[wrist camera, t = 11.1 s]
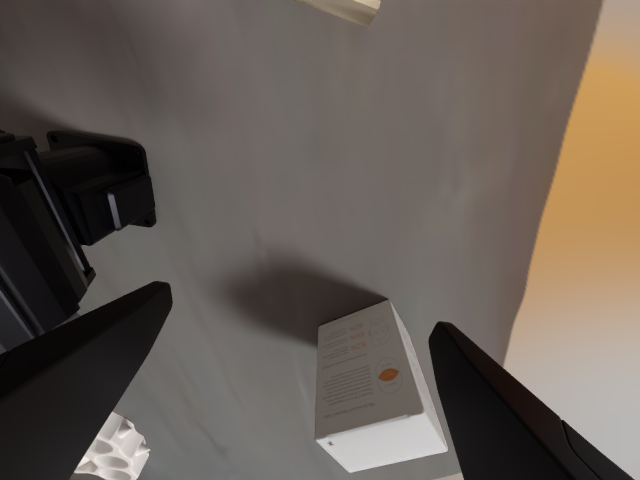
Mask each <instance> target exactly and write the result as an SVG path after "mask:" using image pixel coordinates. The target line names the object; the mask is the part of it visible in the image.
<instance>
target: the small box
mask: <svg viewBox="0 0 640 480" xmlns="http://www.w3.org/2000/svg"><path fill="white" fill-rule="evenodd" d="M315 440H316V441H317V442H318V443H319V444H320V445H321V446H322V447H323V448H324V449H325V450H326V451H327V452H328V453H329V454H330V455H331V456H332V457H333V458H334V459H335V460H336V461H338V462H339V463H340V464H341V465H342V466H343V467H344V468H345V469H346V470H347V471H348V472H350V473H351V472H355V471H360V470H364V469H368V468H373V467H378V466H383V465H387V464H392V463H396V462H401V461H406V460H410V459H414V458H419V457H424V456H428V455H433V454H437V453H442V452H446V451H447V450H448V447H447V444H446V441H445V438H444V435H443V432H442V429H441V426H440V423H439V420H438V418H437V415H436V412H435V409H434V406H433V403H432V400H431V397H430V394H429V391H428V388H427V385H426V382H425V380H424V377H423V374H422V371H421V368H420V366H419V363H418V360H417V357H416V354H415V351H414V348H413V345H412V343H411V340H410V337H409V334H408V332H407V330H406V329H405V327H404V325H403V323H402V321H401V319H400V318H399V316H398V314H397V312H396V310H395V309H394V307H393V305H392V303H391V302H390V300H386V301H383V302H381V303H378V304H376V305H373V306H370V307H368V308H365V309H363V310H360V311H357V312H355V313H352V314H349V315H347V316H344V317H342V318H339V319H337V320H334V321H331V322H329V323H326V324H324V325H321V326H319V328H318V354H317V383H316V407H315Z"/></svg>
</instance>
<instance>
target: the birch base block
mask: <svg viewBox="0 0 640 480" xmlns="http://www.w3.org/2000/svg"><path fill="white" fill-rule="evenodd" d="M296 1H299V2H301V3H304V4H307V5H309V6H312V7H315V8H317V9H320V10H323V11H325V12H328V13H331V14H333V15H336V16H339V17H341V18H344V19H347V20H350V21H352V22H355V23H358V24H360V25H363V26H366V27H369V25H370V23H371V21H372V20H373V18H374V16H375V14H376V13H377V11H378V9H379V5H380V2H381V0H296Z"/></svg>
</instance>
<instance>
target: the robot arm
mask: <svg viewBox="0 0 640 480" xmlns="http://www.w3.org/2000/svg"><path fill="white" fill-rule="evenodd" d="M56 137H57V138H58V140H57V139H56ZM47 139H48V143H49V146H50V149H51V150H50V151H45V152H40V153H37V152H36V150H35V148H37V146H36V144H35V142H34V140H33V137H32V136H14V134H11V133H5V131H1V130H0V480H69V479H70V477H71V476H72V474H73V473H74V471H75V469H76V468H77V466H78V465H79V463H80V462H81V460H82V458H83V457H84V455H85V454H86V452H87V450H88V449H89V447H90V446H91V444H92V443H93V441H94V439H95V438H96V436H97V435H98V433H99V431H100V430H101V428H102V427H103V425H104V424H105V422H106V420H107V419H108V417H109V416H110V414H111V413H112V411H113V409H114V408H115V406H116V405H117V403H118V401H119V400H120V398H121V397H122V395H123V394H124V392H125V390H126V389H127V387H128V386H129V384H130V383H131V381H132V379H133V378H134V376H135V375H136V373H137V371H138V370H139V368H140V367H141V365H142V364H143V362H144V360H145V359H146V357H147V355H148V354H149V352H150V350H151V348H152V346H153V345H154V342H155V340H156V338H157V336H158V334H159V332H160V330H161V328H162V326H163V324H164V322H165V320H166V318H167V316H168V314H169V312H170V310H171V308H172V303H173V301H172V294H171V287H170V284H169V283H167V282H161V281H154V282H152V283H150V284H148V285H145V286H143V287H141V288H139V289H137V290H135V291H133V292H131V293H129V294H126V295H124V296H122V297H120V298H118V299H116V300H114V301H112V302H110V303H107V304H105V305H103V306H101V307H99V308H97V309H95V310H93V311H90V312H88V313H86V314H84V315H82V316H80V317H78V318H76V319H74V320H71V321H69V322H67V323H65V322H66V321H67V320H69V319H70V318H71V317H72V316H73V315H74V314H76V312H77V311H78V310H79V309H80V306H79V304H78V303H79V302H80V301H81V299H82V298H83V296H84V294H85V293H86V291H87V288H88V287H89V285H90V284H91V282H92V281H93V279H94V278H95V276H96V273H95V271H94V269H93V267H90V265H89V263H88V261H87V259H86V256H85V254H84V252H83V250H82V248H81V246H82V245H88V246H92V245H93V244H95V243H96V242H98V241H100V240H101V239H103V238H104V237H106V236H108V235H109V234H111V233H112V232H114V231H115V230H116V231H119V230H121V229H123V228H124V227H126V226H127V225H136V226H143V227H152V226H154V225H155V224H156V215H155V209H154V208H155V202H154V195H153V189H152V182H151V177H150V176H149V170H148V164H147V158H146V152H145V149H144V148H143V147H142V146H141V145H139V144H134V143H128V142H122V141H116V140H110V139H104V138H98V137H92V136H86V135H80V134H74V133H68V132H62V131H49V132H48V133H47ZM135 149H136V150H137V151H138V152H139V155H138V154H137V153H136V152H135ZM147 219H148V220H149V221H150V222H151V223H150V222H148V221H147ZM63 323H65V324H63ZM62 324H63V325H62ZM429 349H430V354H431V359H432V365H433V370H434V375H435V380H436V385H437V390H438V393H439V397H440V400H441V404H442V407H443V410H444V414H445V417H446V420H447V424H448V427H449V431H450V434H451V437H452V441H453V444H454V447H455V451H456V454H457V458H458V461H459V464H460V468H461V471H462V474H463V478H464V480H634V479H633V478H632V477H631V476H629V475H628V474H627V473H626V472H624V471H623V470H622V469H621V468H619V467H618V466H617V465H616V464H615V463H613V462H612V461H611V460H610V459H608V458H607V457H606V456H605V455H603V454H602V453H601V452H600V451H599V450H597V449H596V448H595V447H594V446H593V445H592V444H590V443H589V442H588V441H587V440H585V439H584V438H583V437H582V436H581V435H580V434H579V433H577V432H576V431H575V430H574V429H573V428H572V427H570V426H569V425H568V424H567V423H566V422H565V421H564V420H561V419H560V417H559V416H558V415H557V414H556V413H554V412H553V411H552V410H551V409H550V408H548V407H547V406H546V405H545V404H544V403H543V402H542V401H540V400H539V399H538V398H537V397H536V396H535V395H534V394H532V393H531V392H530V391H529V390H528V389H527V388H526V387H524V386H523V385H522V384H521V383H520V382H519V381H517V380H516V379H515V378H514V377H513V376H511V374H509V373H508V372H507V371H506V370H505V369H504V368H503V367H501V366H500V365H499V364H498V363H497V362H496V361H494V360H493V359H492V358H491V357H490V356H489V355H488V354H486V353H485V352H484V351H483V350H482V349H481V348H479V347H478V346H477V345H476V344H475V343H474V342H473V341H471V340H470V339H469V338H468V337H467V336H466V335H465V334H463V333H462V332H461V331H460V330H459V329H458V328H456V327H455V326H454V325H453V324H452V323H449V322H442V321H439V322H437V324H436V325H435V327H434V329H433V331H432V333H431V335H430V337H429Z"/></svg>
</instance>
